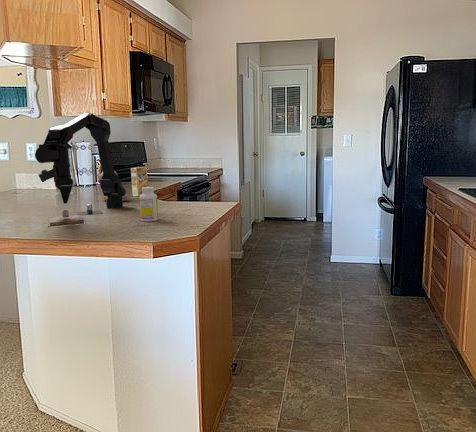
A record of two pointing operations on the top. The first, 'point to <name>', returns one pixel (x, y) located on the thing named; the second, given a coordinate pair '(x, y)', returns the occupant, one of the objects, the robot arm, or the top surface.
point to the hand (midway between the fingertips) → (64, 202)
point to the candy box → (139, 180)
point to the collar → (60, 201)
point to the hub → (66, 219)
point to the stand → (89, 211)
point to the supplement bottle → (148, 205)
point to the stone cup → (115, 193)
